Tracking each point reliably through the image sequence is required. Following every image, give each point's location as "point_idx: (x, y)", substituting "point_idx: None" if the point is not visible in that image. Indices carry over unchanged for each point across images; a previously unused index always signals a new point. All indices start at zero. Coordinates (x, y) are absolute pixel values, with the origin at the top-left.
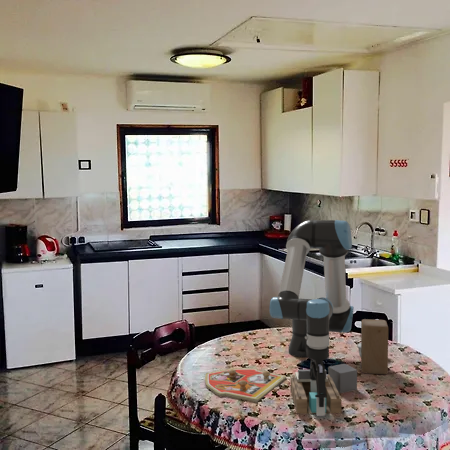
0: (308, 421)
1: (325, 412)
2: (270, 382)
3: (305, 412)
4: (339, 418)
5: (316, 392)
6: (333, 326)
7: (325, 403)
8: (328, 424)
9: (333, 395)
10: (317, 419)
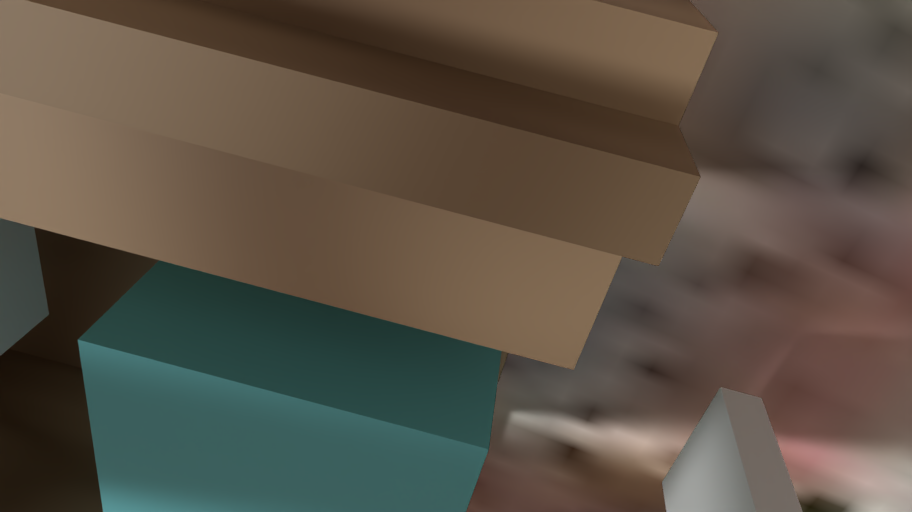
0: (653, 507)
1: None
2: None
3: None
4: (786, 74)
5: (109, 480)
6: None
7: (495, 361)
8: (885, 346)
9: (335, 193)
10: (647, 404)
